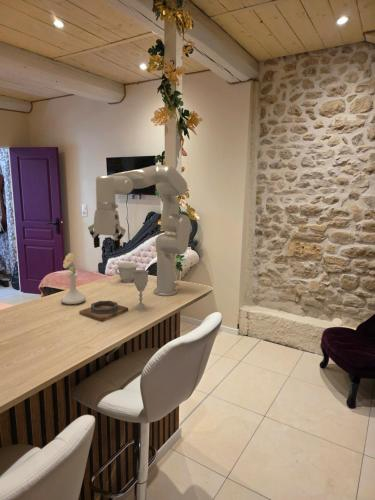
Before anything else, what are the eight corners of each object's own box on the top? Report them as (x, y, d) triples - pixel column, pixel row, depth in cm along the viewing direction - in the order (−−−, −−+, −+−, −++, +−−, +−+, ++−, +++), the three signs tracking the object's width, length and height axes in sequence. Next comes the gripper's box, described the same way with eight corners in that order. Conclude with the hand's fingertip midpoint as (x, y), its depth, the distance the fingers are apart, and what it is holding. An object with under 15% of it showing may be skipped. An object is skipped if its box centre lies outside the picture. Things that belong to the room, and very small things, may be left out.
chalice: (135, 312, 149) (135, 274, 146) (130, 307, 155) (130, 270, 152) (150, 310, 153) (151, 272, 149) (145, 305, 159) (145, 269, 155)
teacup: (109, 281, 196) (108, 265, 194) (128, 277, 207) (128, 261, 205) (122, 286, 188) (122, 269, 186) (141, 281, 200) (141, 264, 198)
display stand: (106, 304, 159) (106, 297, 158) (128, 310, 152) (128, 303, 151) (79, 314, 146) (79, 306, 145) (101, 322, 138) (101, 314, 138)
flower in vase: (61, 299, 164) (59, 249, 160) (85, 297, 168) (84, 248, 163) (60, 308, 152) (57, 254, 147) (86, 306, 156) (84, 253, 151)
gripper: (129, 207, 136) (129, 248, 139) (93, 205, 142) (94, 245, 145) (119, 208, 129) (120, 251, 132) (82, 206, 135) (83, 248, 138)
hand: (106, 248), depth 138 cm, fingers open, 9 cm apart
